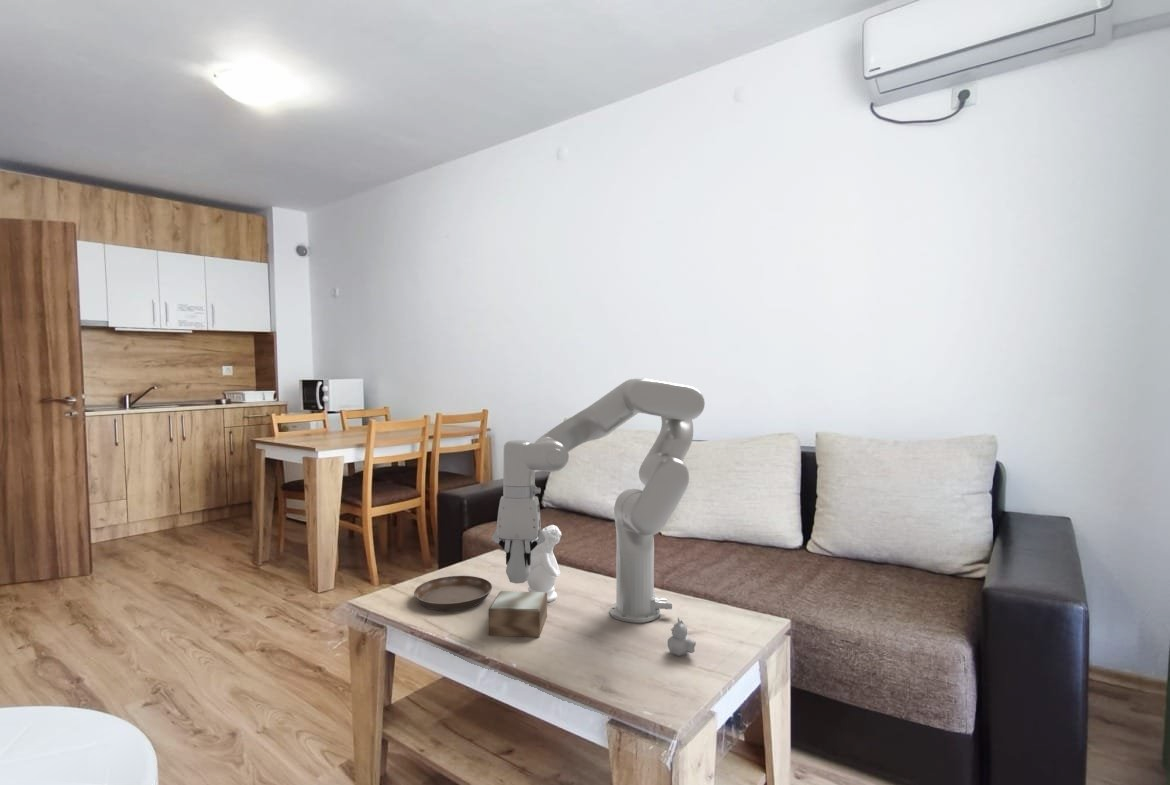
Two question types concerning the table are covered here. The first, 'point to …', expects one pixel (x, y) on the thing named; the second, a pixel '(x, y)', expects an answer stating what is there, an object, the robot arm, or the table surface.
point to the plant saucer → (453, 592)
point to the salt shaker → (517, 562)
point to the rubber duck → (680, 640)
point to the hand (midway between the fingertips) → (518, 567)
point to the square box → (517, 614)
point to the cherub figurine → (545, 564)
